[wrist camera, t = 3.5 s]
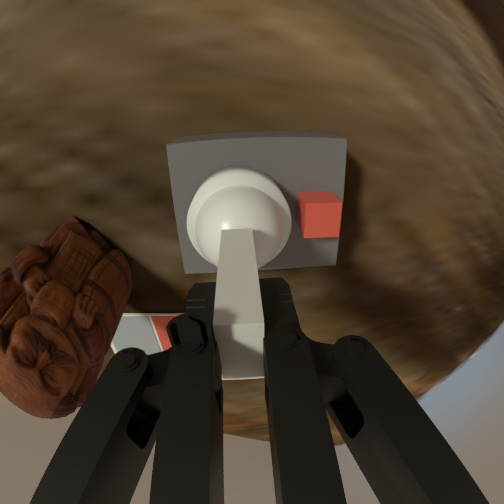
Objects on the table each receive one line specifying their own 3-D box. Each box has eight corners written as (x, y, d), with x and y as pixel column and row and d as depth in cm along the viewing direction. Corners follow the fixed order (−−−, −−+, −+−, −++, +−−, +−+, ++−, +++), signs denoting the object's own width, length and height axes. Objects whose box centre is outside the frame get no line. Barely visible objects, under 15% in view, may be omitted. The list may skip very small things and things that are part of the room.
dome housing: (325, 131, 21) (361, 144, 15) (319, 237, 26) (344, 282, 20) (180, 136, 21) (156, 150, 15) (193, 243, 26) (180, 292, 20)
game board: (277, 308, 30) (277, 310, 30) (274, 375, 37) (274, 377, 37) (95, 312, 30) (94, 313, 30) (128, 375, 36) (127, 377, 36)
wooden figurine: (153, 276, 28) (99, 440, 12) (122, 306, 29) (71, 447, 14) (70, 201, 23) (-54, 321, 7) (47, 241, 25) (-48, 357, 9)
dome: (285, 164, 18) (304, 187, 13) (284, 250, 21) (298, 295, 16) (187, 169, 17) (169, 194, 13) (197, 254, 21) (187, 301, 16)
